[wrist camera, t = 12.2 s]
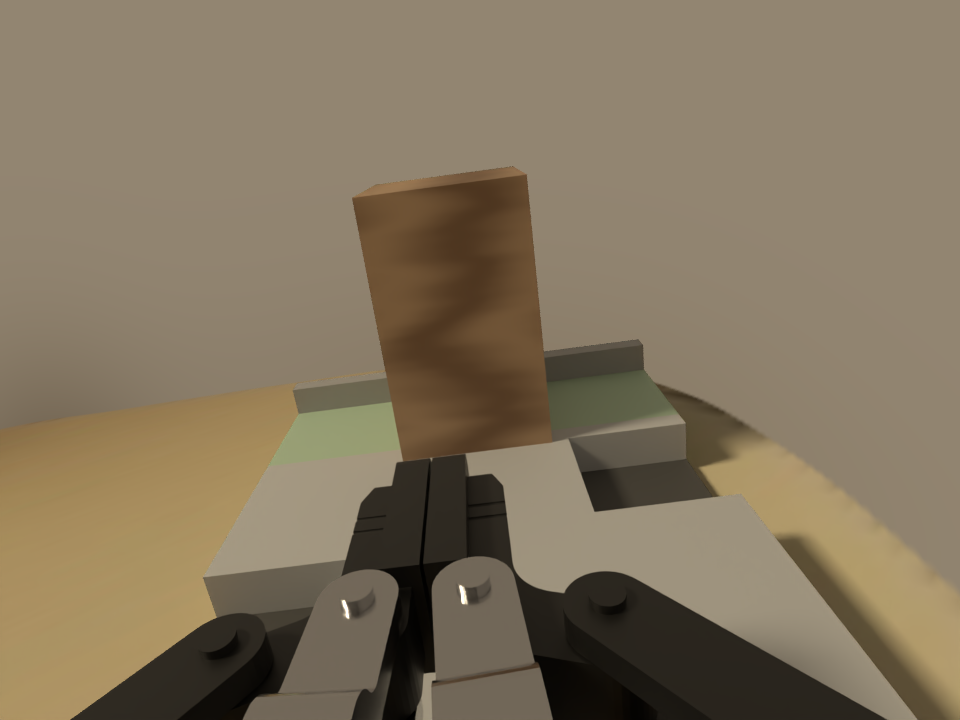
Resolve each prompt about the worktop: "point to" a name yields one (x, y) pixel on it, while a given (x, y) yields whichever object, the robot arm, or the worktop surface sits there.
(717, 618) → the board
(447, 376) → the walnut block
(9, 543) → the worktop surface
